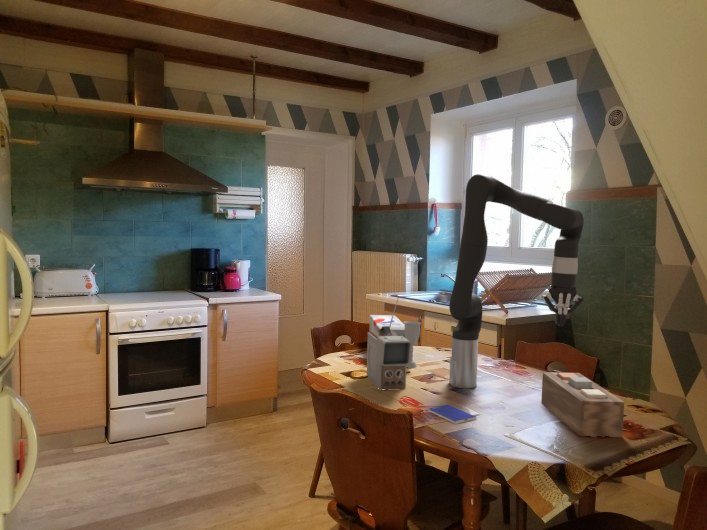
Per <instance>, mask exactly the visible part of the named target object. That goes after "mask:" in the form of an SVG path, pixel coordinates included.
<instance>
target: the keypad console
mask: <svg viewBox="0 0 707 530" xmlns="http://www.w3.org/2000/svg"><path fill="white" fill-rule="evenodd" d="M558 373H559V372H556V371H555V372H552V371H549V372H547V371H546V372H545V371H543V372H542V378H541V379H542V380H541V382H542V384H541V401H540V402H541V403H542V405H544V406H545V407H546V408H547V409H548V410H550V411H551V413H553V414H554V415H555V416H556V417H557V418H558V419H560V421H561V422H562V423H564V424H565V425H566V426H567V427H568V428H569V429H570V430H571V431H572V432H574V433H575V434H576V435H577V436H578V437H579V436H591V437H590V438H598V437H597V436H602V437H601V438H606V437H605V436H609V437H608V438H623V434H624V433H623V429H624V418H625V416H624V414H625V401H623V400H622V399H621V398H619V397H618V396H616V395H614V394H612V393H611V392H610V391H608V390H606V389H605V388H604V387H602V386H600V385H599V384H597V383H595V382H594V381H592V380H591V379H589V378H588V377H586V376H584V375H583V374H581V373H580V372H573V373H574V374H575V375H577V376H578V377H586V378H587V379H589V380H590V381H592V389H598V390H600V391H601V392H603V393H604V394H606V398H587V397H585V396H584V395H582V394H581V389H574V388H573V387H571V386H570V385H569V380H562V379H560V378H559V377H558V376H557V374H558Z"/></svg>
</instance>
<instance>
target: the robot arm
mask: <svg viewBox="0 0 707 530" xmlns="http://www.w3.org/2000/svg"><path fill="white" fill-rule="evenodd" d="M488 202H490V203H496V204H501V205H503V206H507V207H509V208H511V209H514V210H515V211H516V212H519V213H520V214H522V215H524V216H527V217H529V218H531V219H535V220H537V221H540V222H543V223H546V224H548V225H549V226H551V227H553V228H556V229H559V230H560V232H559V236H558V238H557V239H556V240H555V241H554V242H555V243H554V251H553V259H552V260H553V261H552V263H551V276H550V288H549V290H548V293H546V294H543V295H541V298H542V300H543V302H544V303H545V305H546V306H547V307H548V309H549V310H550V311H551V312H553V313H555V316H554V317H555V320H554V323H555V324H556V326H558V327H564V326H565V325H566V323H567V315H568V314H572V313H574V312H575V310H576V309H577V308H578V307H579V306H580V304H582V302H584V298H583V297H581V296H580V295H578V291H577V281H578V280H577V279H578V271H579V270H578V269H579V268H578V266H579V262H578V256H579V255H578V254H579V243H580V241H581V237H582V232H583V229H584V214H583V213H582V212H581V210H579V209H577V208H575V207H566V206H563V205H560V204H558V203H554V202H553V201H551V200H550V199H546V198H544V197H541V196H537V195H535V194H532V193H528V192H525V191H522V190H519V189H516V188H513V187H511V186H509V185H508V184H506V183H504V182H502V181H501V180H499V179H497V178H495V177H493V176H492V175H488V174H479V173H478V174H473V175H472V176H471V177H470V178H469V179H468V181H467V183H466V189H465V203H464V204H465V206H464V217H463V225H462V233H461V239H460V244H459V251H458V259H457V261H458V262H457V264H456V265H457V266H456V267H457V268H456V273H455V279H454V283H453V288H452V291H451V295H450V299H449V306H448V307H449V313H450V315H451V317H452V318H453V319H455V321H456V320H457V321H458V322H457V325H456V326H455V327H454V328H453V330H452V333H451V334H452V336H451V356H450V357H449V379H448V381H449V384H450V386H451V387H453V388H458V389H459V388H460V389H474V388H476V387H477V383H478V382H477V381H478V357H479V356H478V355H479V353H478V352H479V335H480V332H481V330H482V323H483V322H482V321H483V302H482V300H481V297H479V295H478V294H475V293H473V291H474V284H475V282H476V279H477V277H478V275H479V273H480V271H481V269H482V267H483V266H484V263H485V260H486V258H487V257H486V256H487V251H488V241H489V240H488V231H487V227H486V223H485V212H486V206H487V203H488ZM551 300H553V302H554V304H553V303H552V301H551ZM571 302H572V303H571Z"/></svg>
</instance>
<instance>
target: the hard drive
mask: <svg viewBox="0 0 707 530" xmlns="http://www.w3.org/2000/svg"><path fill="white" fill-rule="evenodd" d="M428 412H429V413H432V414H434V415H436V416H438V417H440V418H442V419H445V420H446V421H448V422H451V423H453V424H456V425H457V424H460V423H466V422H471V421H475V420H477V416H476V415H473V414H471V413H469V412H466V411H464V410H462V409H459V408H458V407H455V406H453V405H451V404H449V403H448V404H443V405H437V406H433V407H429V408H428Z"/></svg>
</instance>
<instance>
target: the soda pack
mask: <svg viewBox="0 0 707 530" xmlns="http://www.w3.org/2000/svg"><path fill="white" fill-rule="evenodd" d="M392 316H393V314H369V332H370V331H378V329H381V328H382V327H383V326H390V322H391V319H392ZM390 330H392V331H393V332H395V333H396V334H398V335H399V334H400V336H403V337H404V338H405V334H404V333H405V325H404V322H403V321H401V320H400V319H399V317H397V316H396V315H395V314H394V316H393V319H392V323H391V326H390Z"/></svg>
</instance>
